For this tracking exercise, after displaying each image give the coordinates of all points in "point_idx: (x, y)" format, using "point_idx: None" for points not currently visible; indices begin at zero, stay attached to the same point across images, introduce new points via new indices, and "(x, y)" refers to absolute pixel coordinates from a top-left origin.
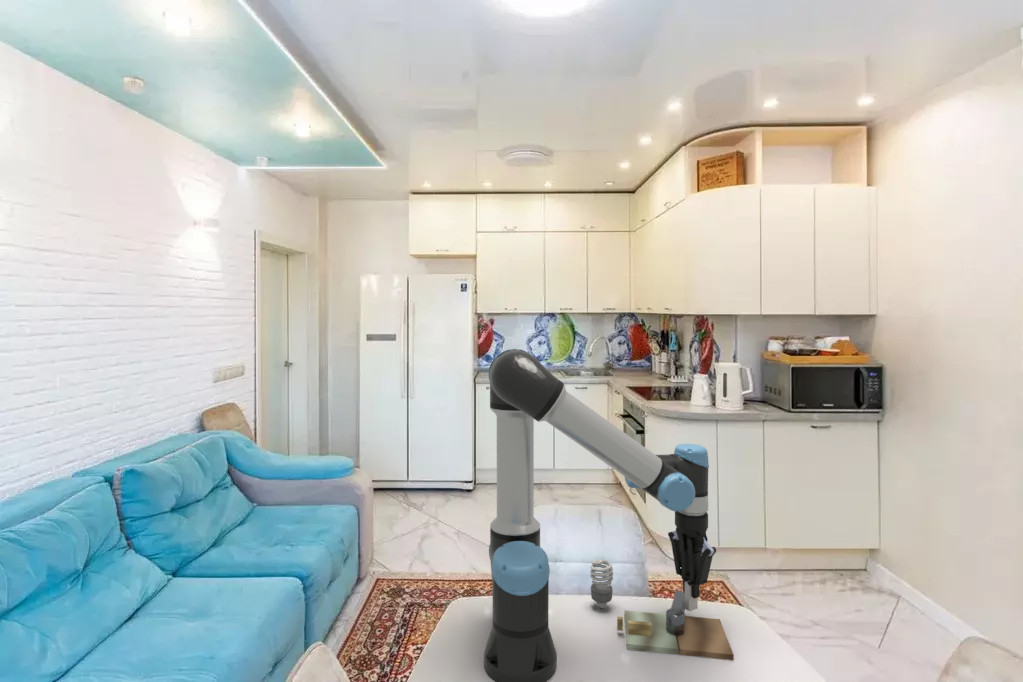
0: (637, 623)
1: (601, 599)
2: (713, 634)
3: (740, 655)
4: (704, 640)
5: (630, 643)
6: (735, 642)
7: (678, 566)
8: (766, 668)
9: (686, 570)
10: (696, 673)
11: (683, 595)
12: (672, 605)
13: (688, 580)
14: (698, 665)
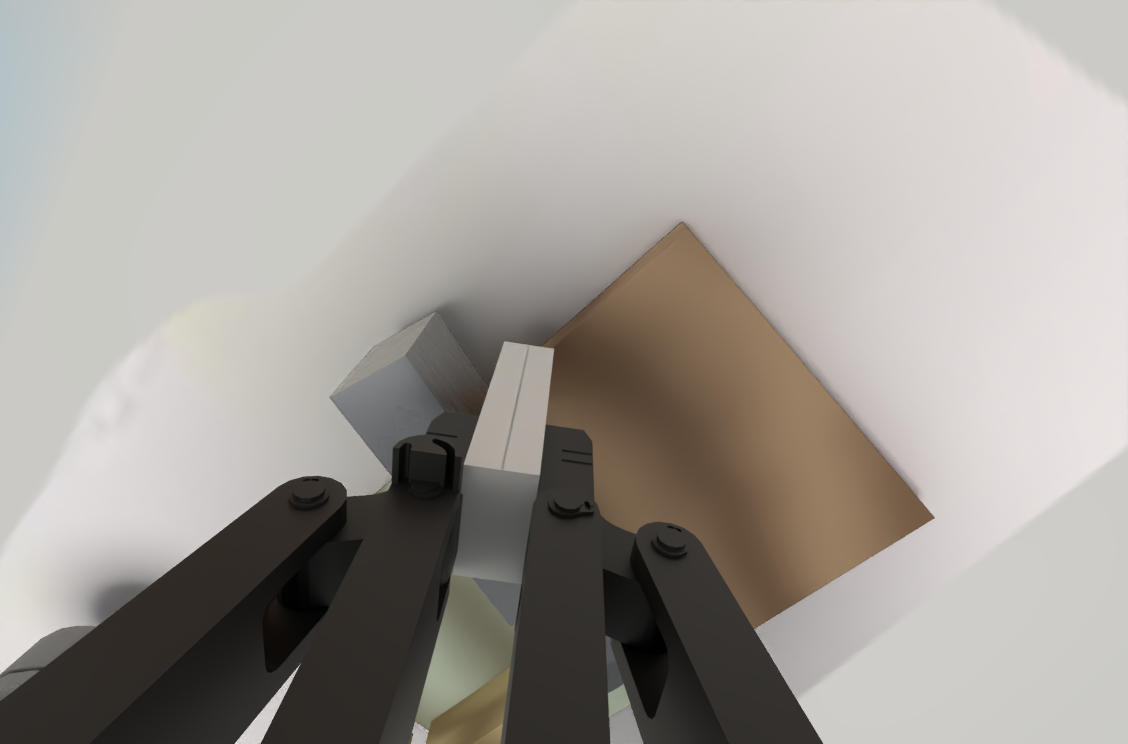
0: None
1: None
2: (755, 436)
3: (932, 431)
4: (746, 524)
5: None
6: (860, 337)
7: (287, 675)
8: (1093, 428)
9: (425, 663)
10: (816, 684)
11: (429, 414)
12: (491, 594)
13: (457, 528)
14: (795, 641)
